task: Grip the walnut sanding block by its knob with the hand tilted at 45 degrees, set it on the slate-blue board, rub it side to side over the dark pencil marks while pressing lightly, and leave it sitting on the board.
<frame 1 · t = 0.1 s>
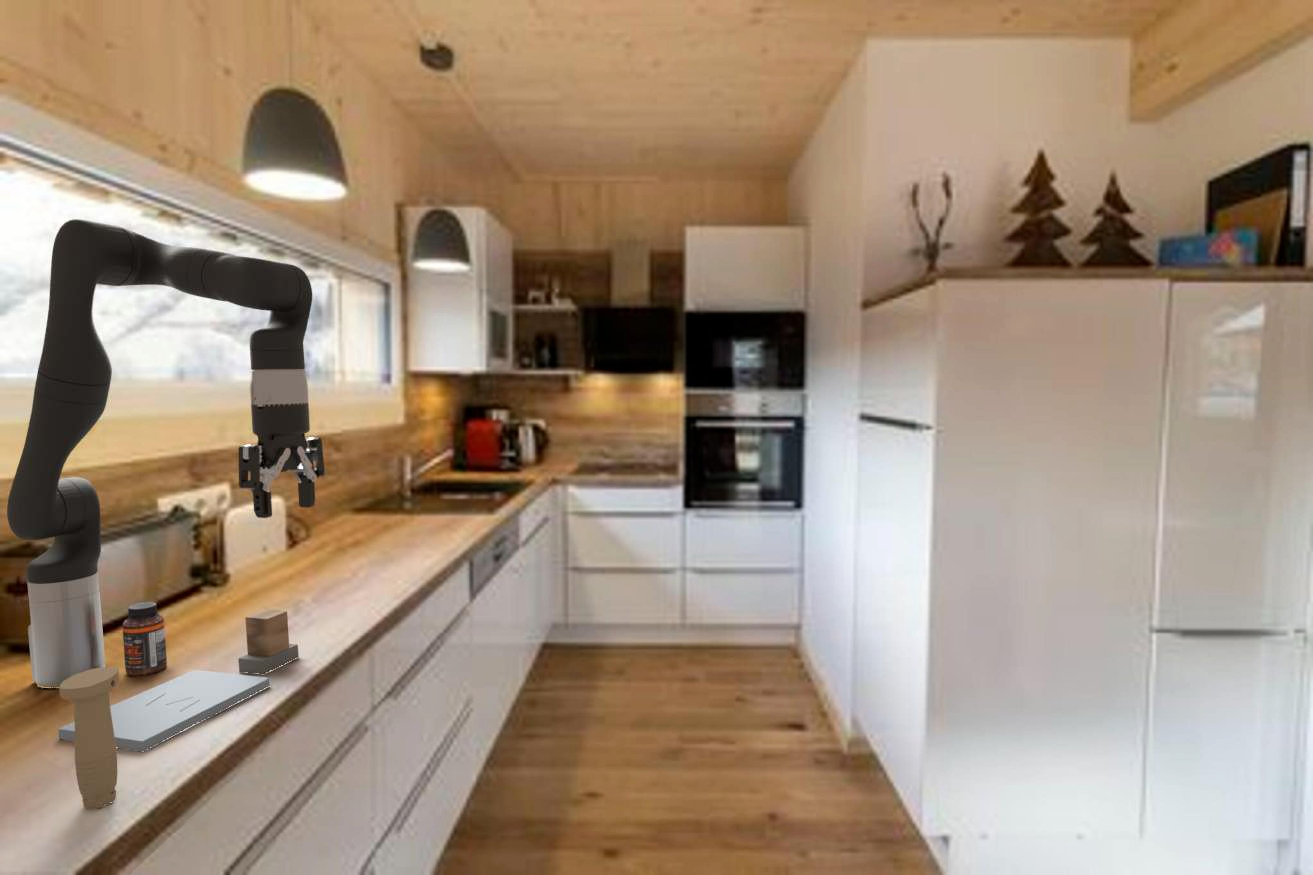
hand: (286, 512, 114), 29 cm above the countertop, tool pointing down, fingers open, 8 cm apart
sanding block: (269, 665, 133), on the countertop
handle: (100, 805, 90), on the countertop
supplement bottle: (146, 671, 132), on the countertop
board: (172, 711, 115), on the countertop
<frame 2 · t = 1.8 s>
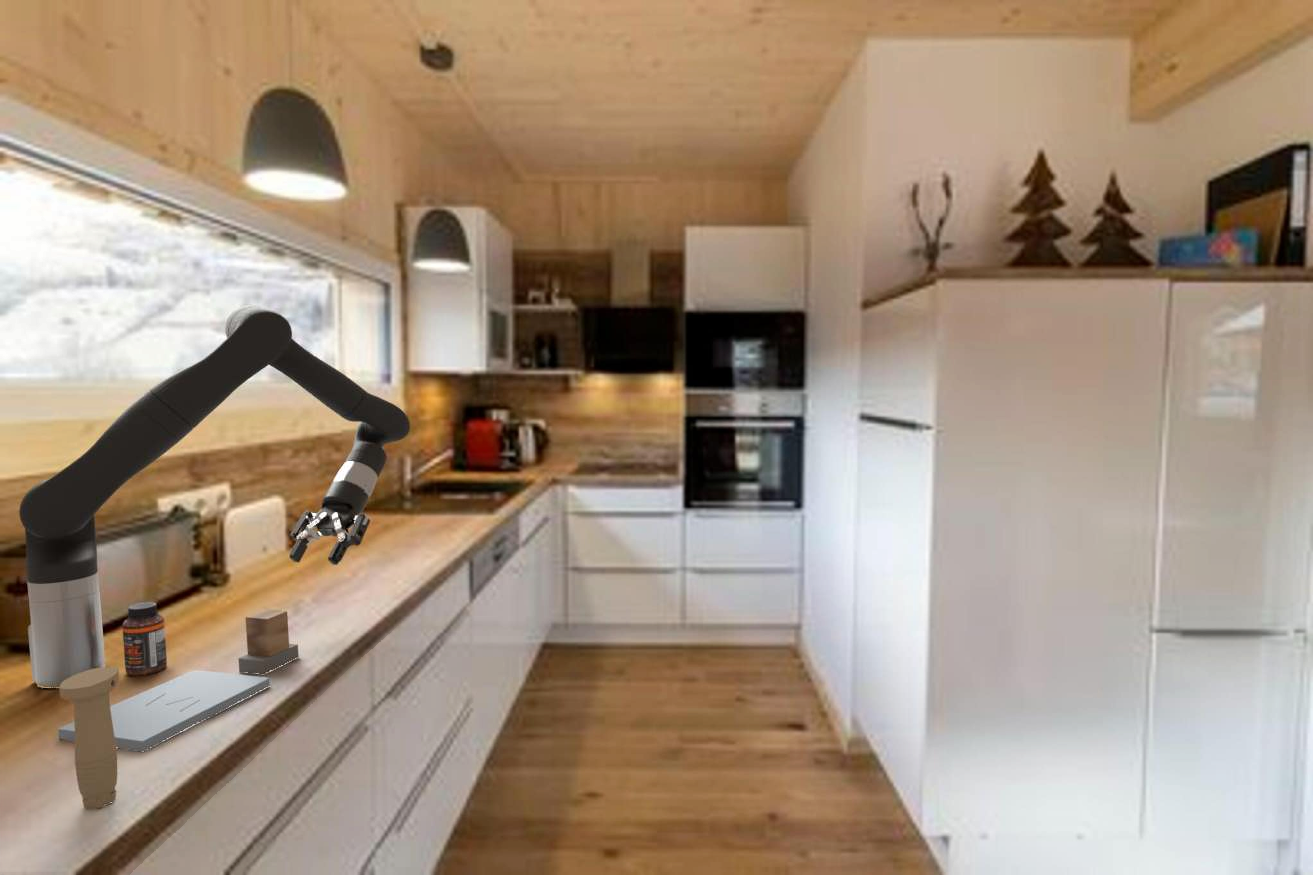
hand: (312, 561, 143), 15 cm above the countertop, tool tilted 45°, fingers open, 8 cm apart
nothing on the countertop moved.
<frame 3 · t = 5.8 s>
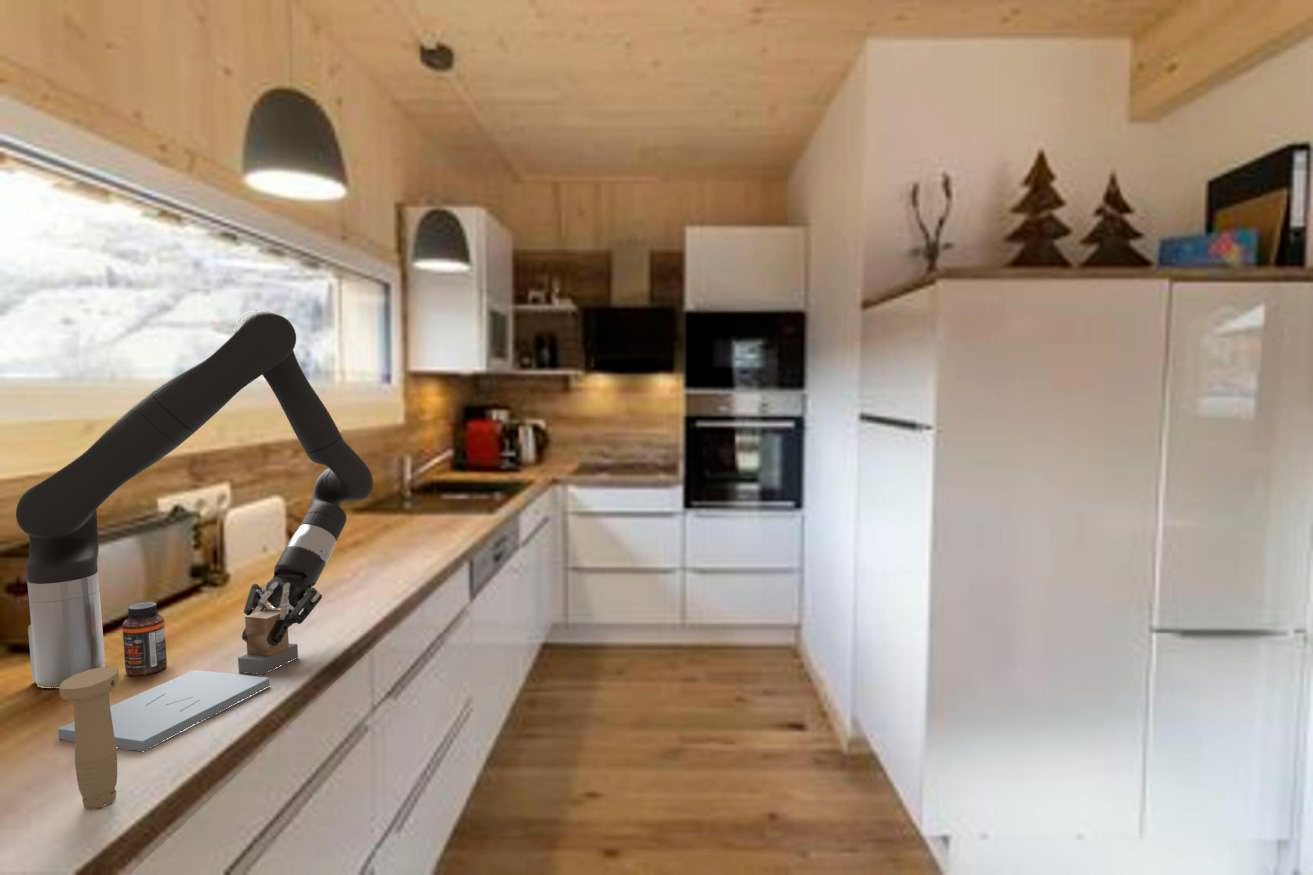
hand: (259, 642, 131), 5 cm above the countertop, tool tilted 45°, fingers closed on sanding block, 4 cm apart
sanding block: (269, 665, 133), on the countertop, touching gripper
everything else where it was.
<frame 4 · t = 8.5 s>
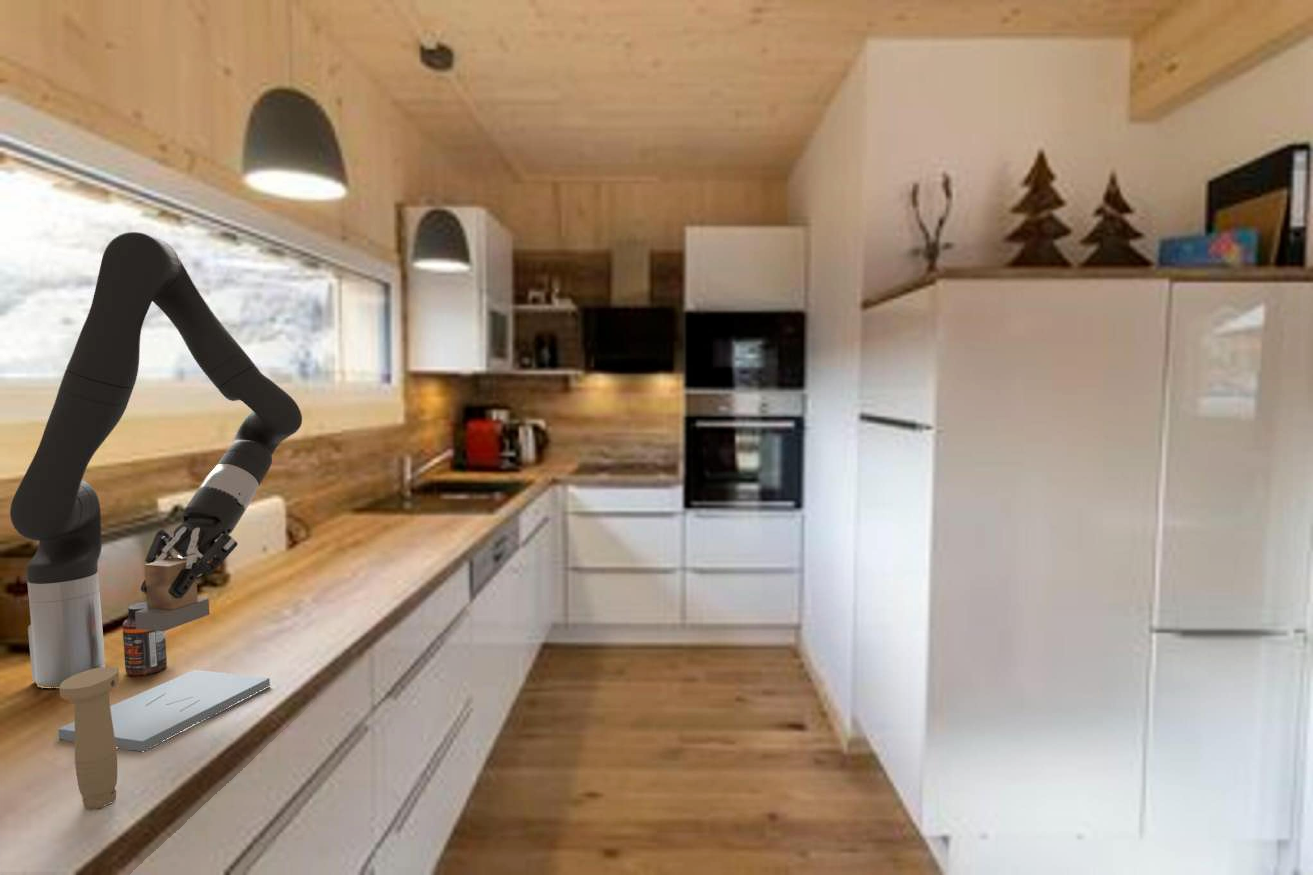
hand: (160, 594, 113), 18 cm above the countertop, tool tilted 45°, fingers closed on sanding block, 4 cm apart
sanding block: (173, 621, 115), point 13 cm above the countertop, touching gripper
everything else where it was.
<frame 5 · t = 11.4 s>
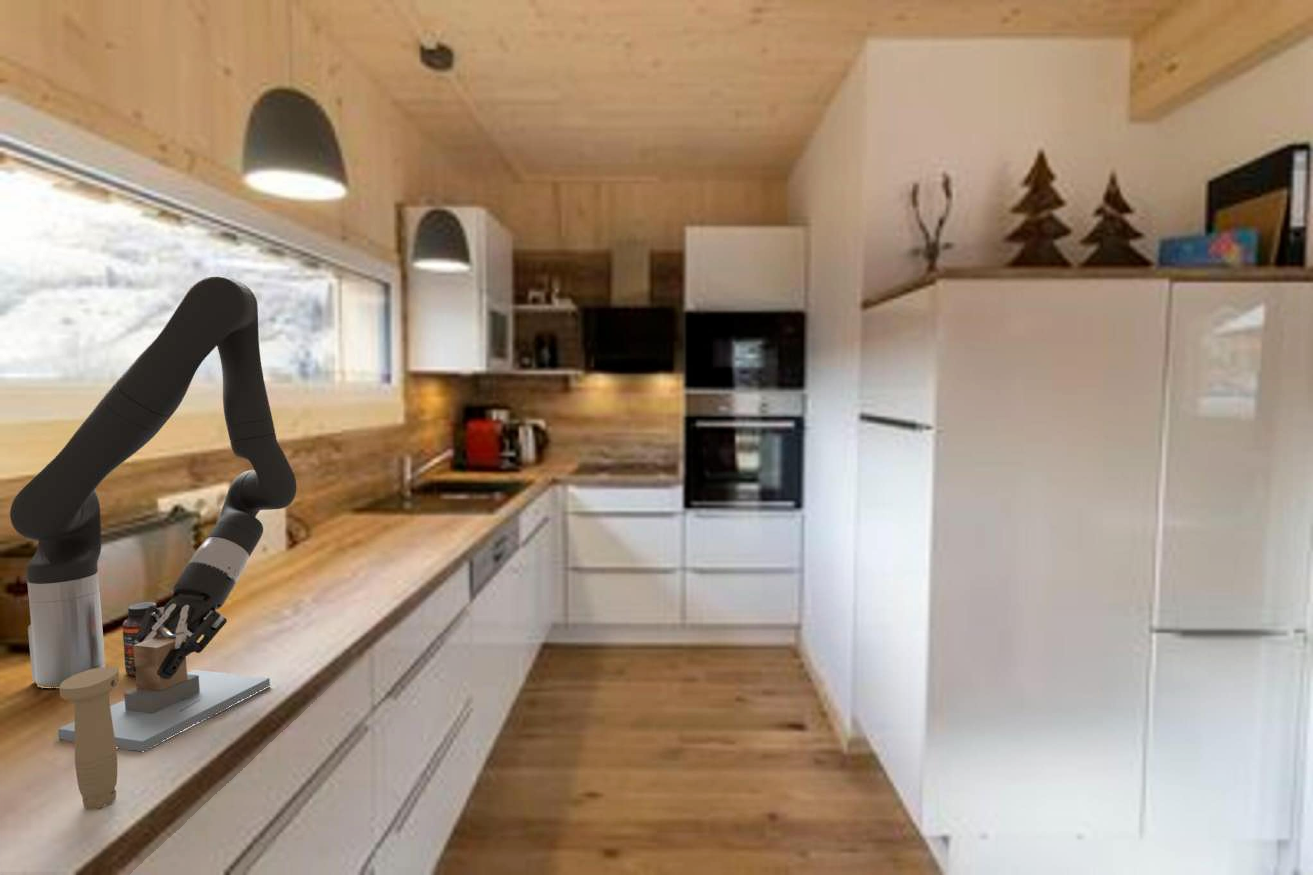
hand: (149, 674, 113), 6 cm above the countertop, tool tilted 45°, fingers closed on sanding block, 4 cm apart
sanding block: (163, 700, 115), point 2 cm above the countertop, touching gripper
everything else where it was.
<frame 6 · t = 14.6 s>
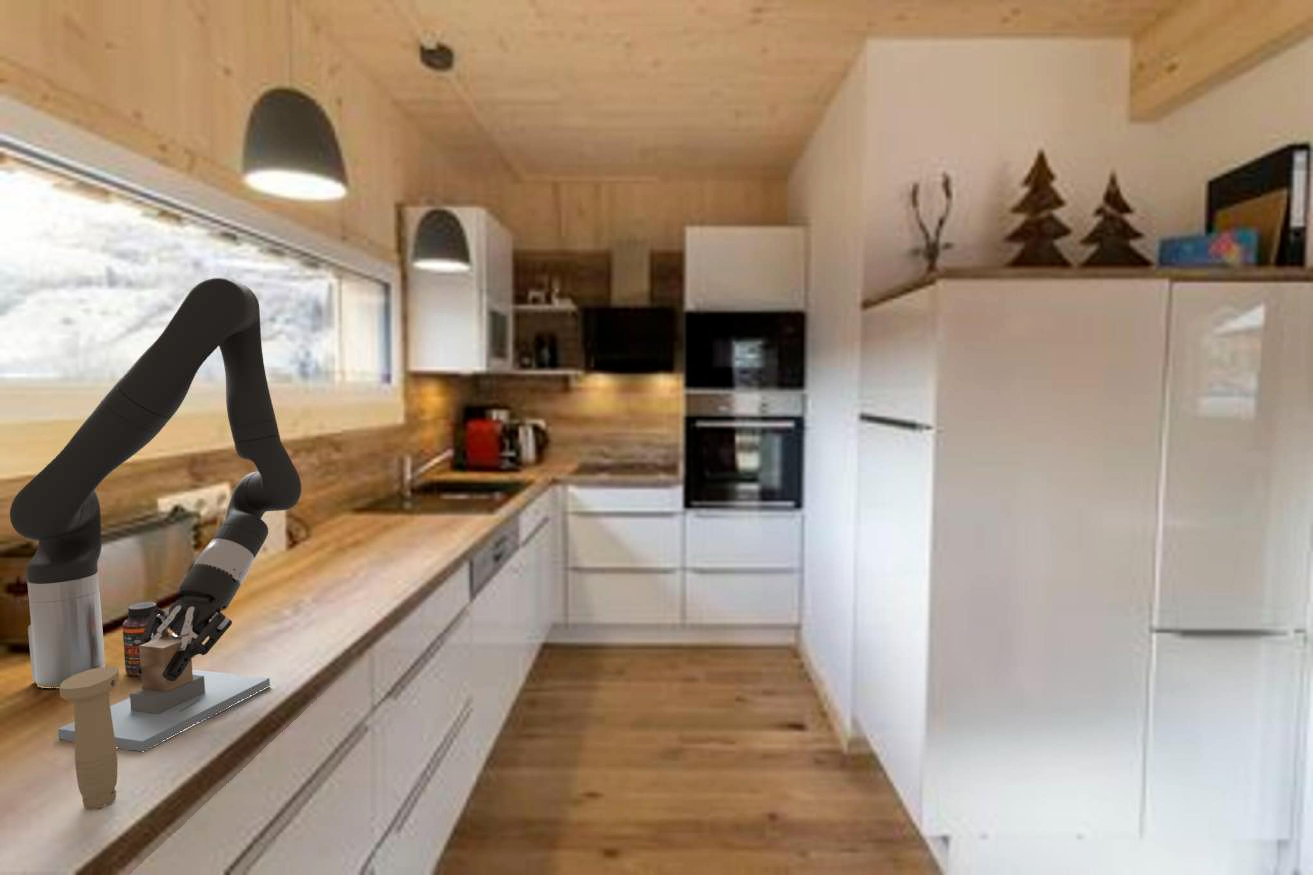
hand: (155, 676, 113), 6 cm above the countertop, tool tilted 45°, fingers closed on sanding block, 4 cm apart
sanding block: (169, 701, 115), point 2 cm above the countertop, touching gripper
everything else where it was.
when the fingers open (6 cm above the countertop, at t = 17.3 s): sanding block stays where it is, resting on board.
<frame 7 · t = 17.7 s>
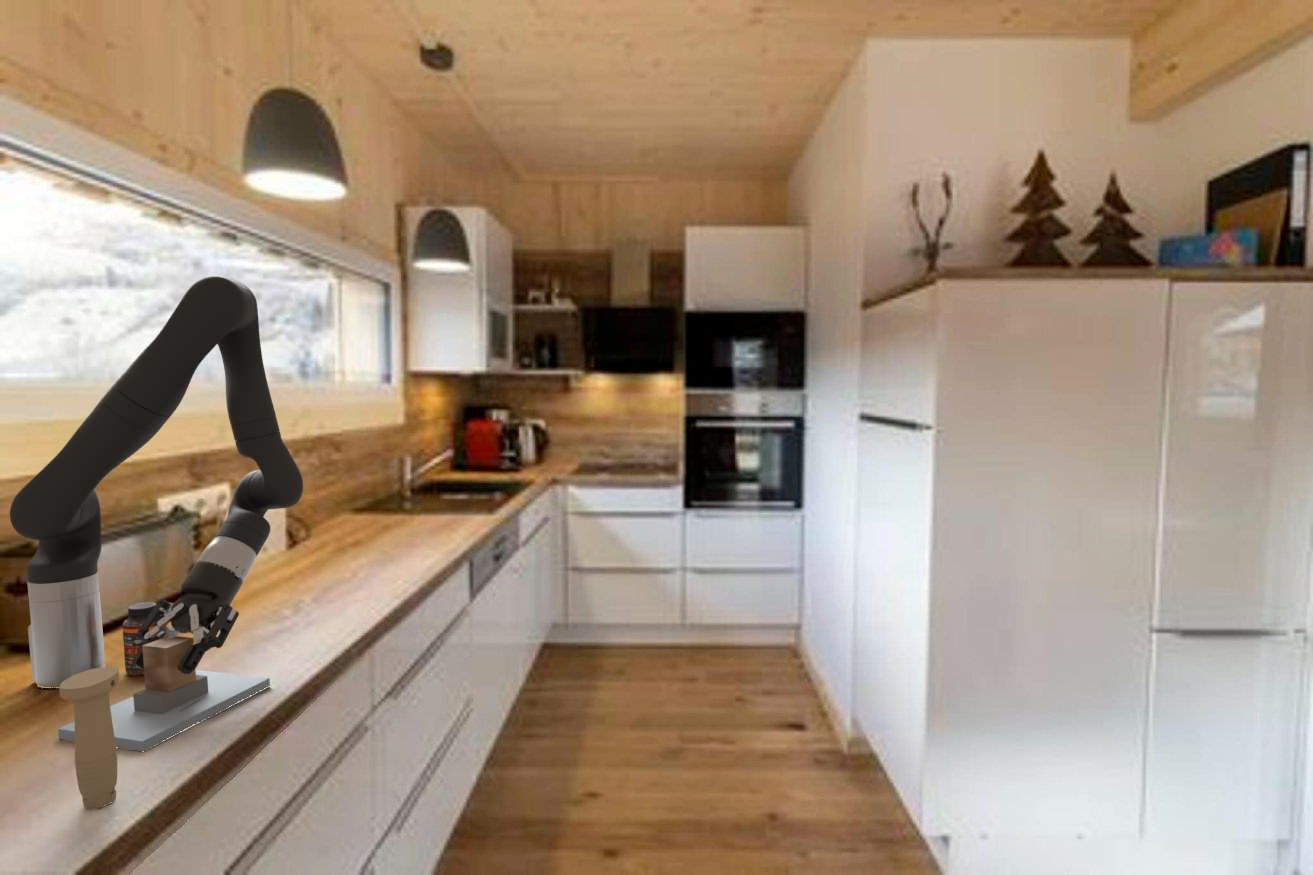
hand: (160, 669, 113), 7 cm above the countertop, tool tilted 45°, fingers open, 8 cm apart
sanding block: (172, 700, 115), point 2 cm above the countertop, touching board
everything else where it was.
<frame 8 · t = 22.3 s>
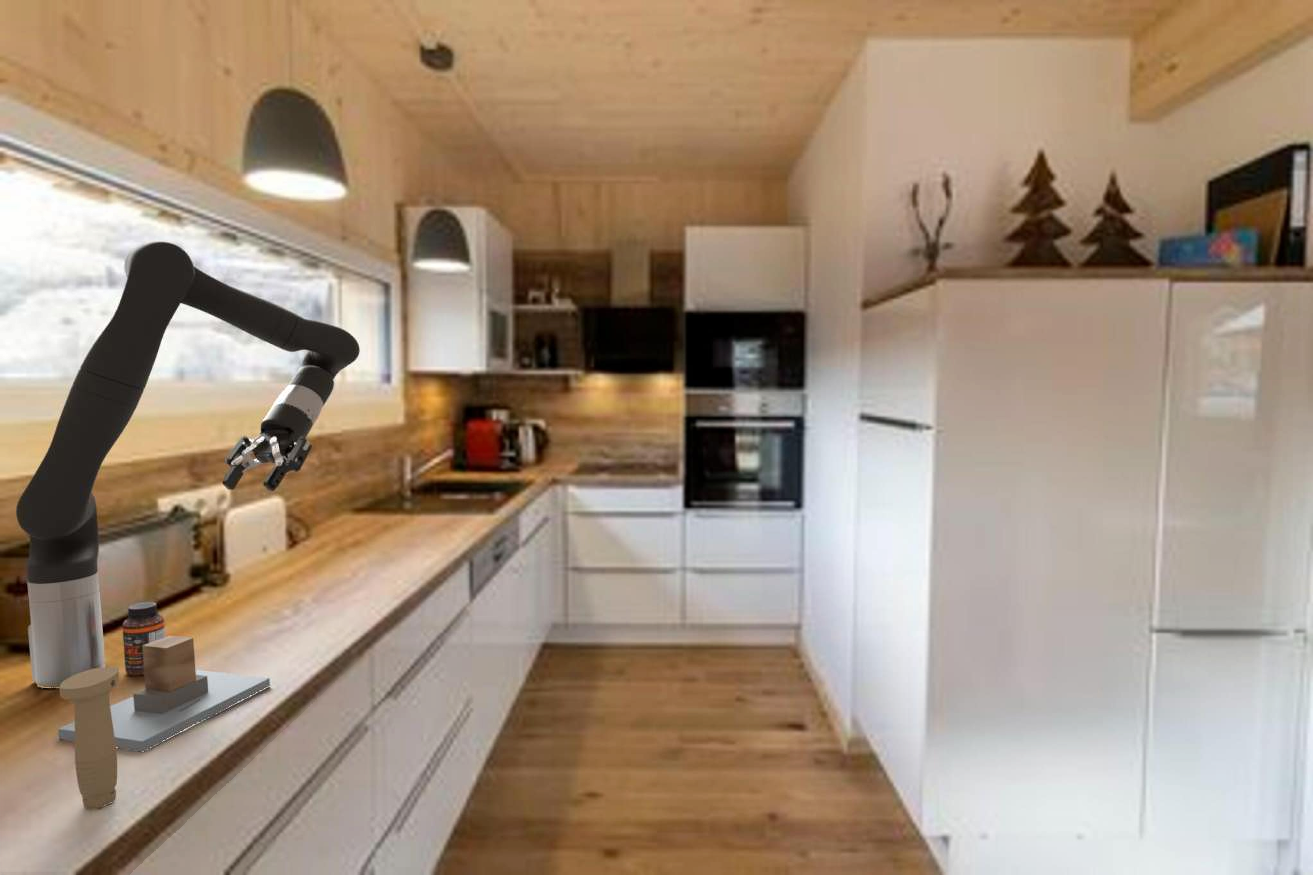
hand: (247, 487, 131), 31 cm above the countertop, tool tilted 45°, fingers open, 8 cm apart
nothing on the countertop moved.
at the end: sanding block inside the target area on the board (0.2 cm from its centre), point 1.5 cm above the board's base; sanding block tilted 0°; the gripper is holding nothing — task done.
